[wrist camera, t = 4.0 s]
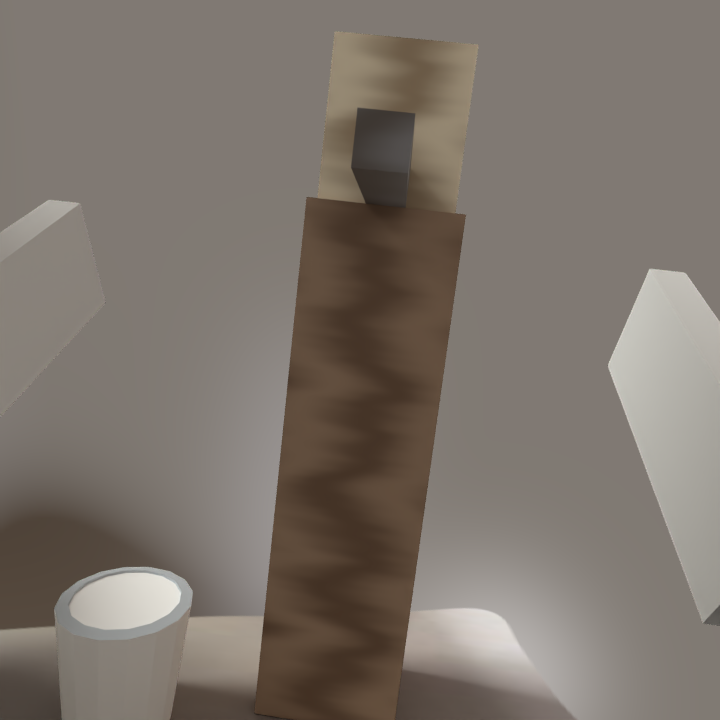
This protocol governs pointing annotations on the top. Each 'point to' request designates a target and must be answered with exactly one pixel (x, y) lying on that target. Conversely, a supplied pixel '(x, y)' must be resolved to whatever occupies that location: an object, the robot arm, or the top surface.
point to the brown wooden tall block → (355, 456)
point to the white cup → (121, 644)
